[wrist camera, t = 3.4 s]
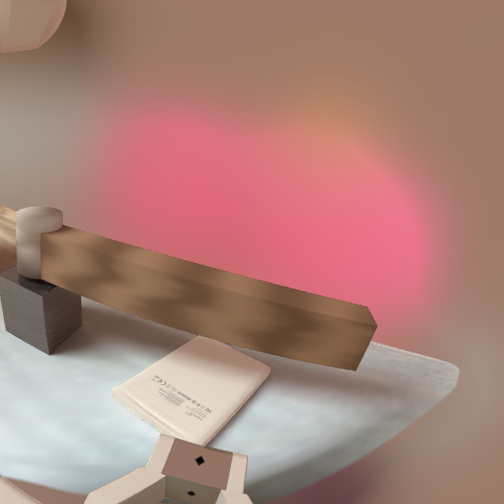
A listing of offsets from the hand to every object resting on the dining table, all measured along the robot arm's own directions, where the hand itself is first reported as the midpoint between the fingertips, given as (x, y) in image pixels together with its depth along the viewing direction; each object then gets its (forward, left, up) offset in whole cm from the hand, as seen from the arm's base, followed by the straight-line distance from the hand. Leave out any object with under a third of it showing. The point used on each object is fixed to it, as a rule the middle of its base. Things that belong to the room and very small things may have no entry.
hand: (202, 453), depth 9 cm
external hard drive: (-2, +13, -10) cm, 17 cm away
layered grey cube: (-18, +13, -10) cm, 24 cm away
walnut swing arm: (-6, +13, -3) cm, 15 cm away
